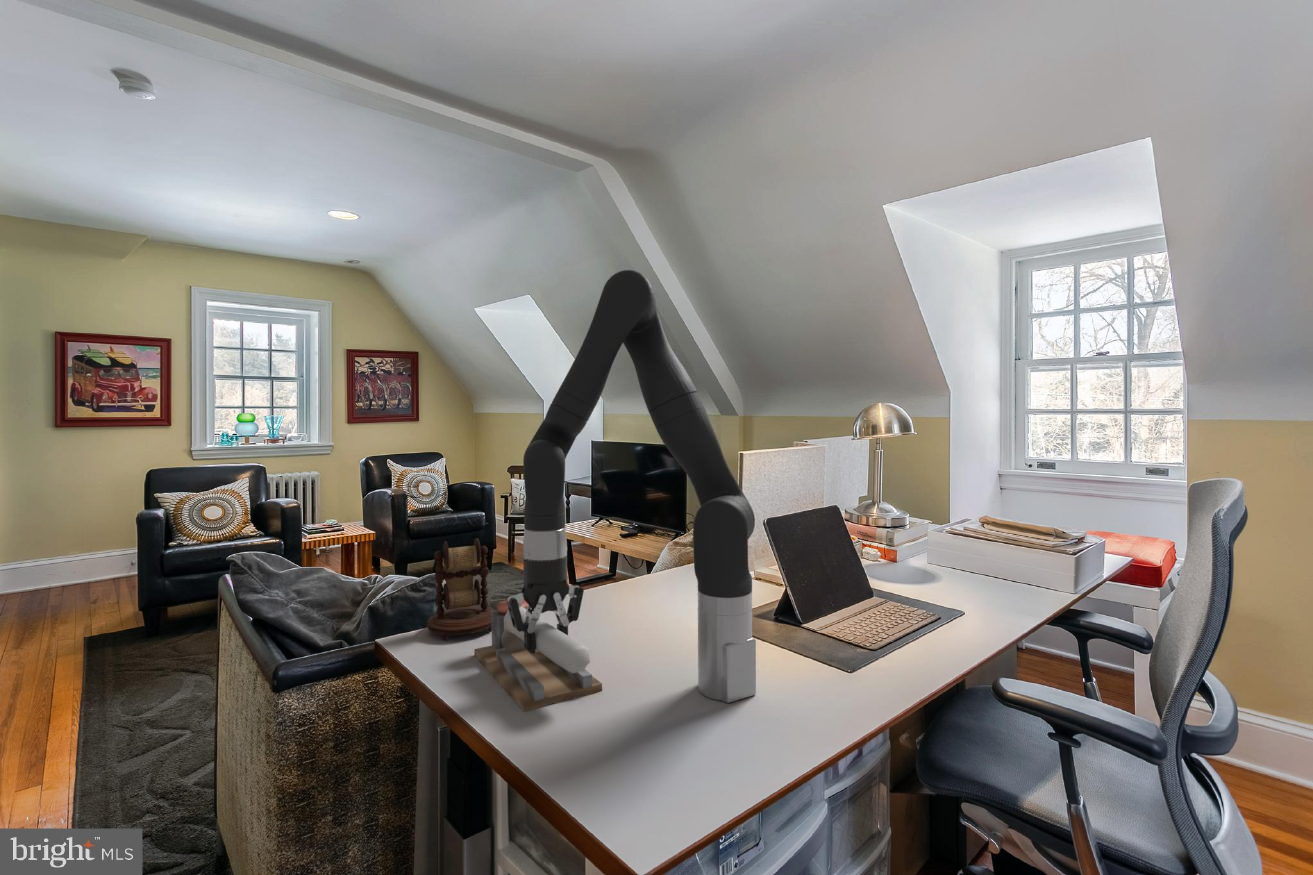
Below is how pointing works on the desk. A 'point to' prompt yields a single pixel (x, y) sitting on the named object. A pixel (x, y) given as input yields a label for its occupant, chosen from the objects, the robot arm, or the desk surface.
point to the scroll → (461, 592)
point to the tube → (554, 644)
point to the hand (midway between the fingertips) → (546, 648)
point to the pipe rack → (529, 669)
